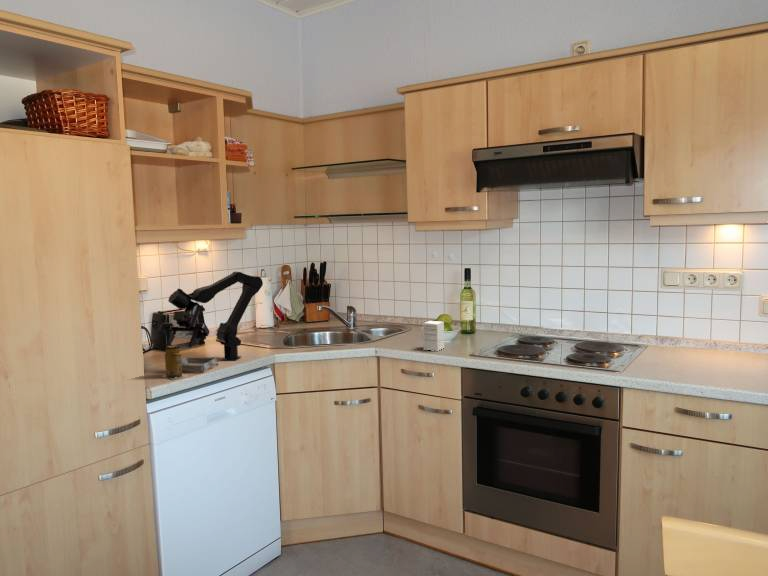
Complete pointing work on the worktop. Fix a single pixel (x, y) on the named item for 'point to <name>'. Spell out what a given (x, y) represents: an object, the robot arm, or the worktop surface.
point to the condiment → (173, 362)
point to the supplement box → (433, 335)
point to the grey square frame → (198, 364)
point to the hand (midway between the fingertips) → (178, 347)
